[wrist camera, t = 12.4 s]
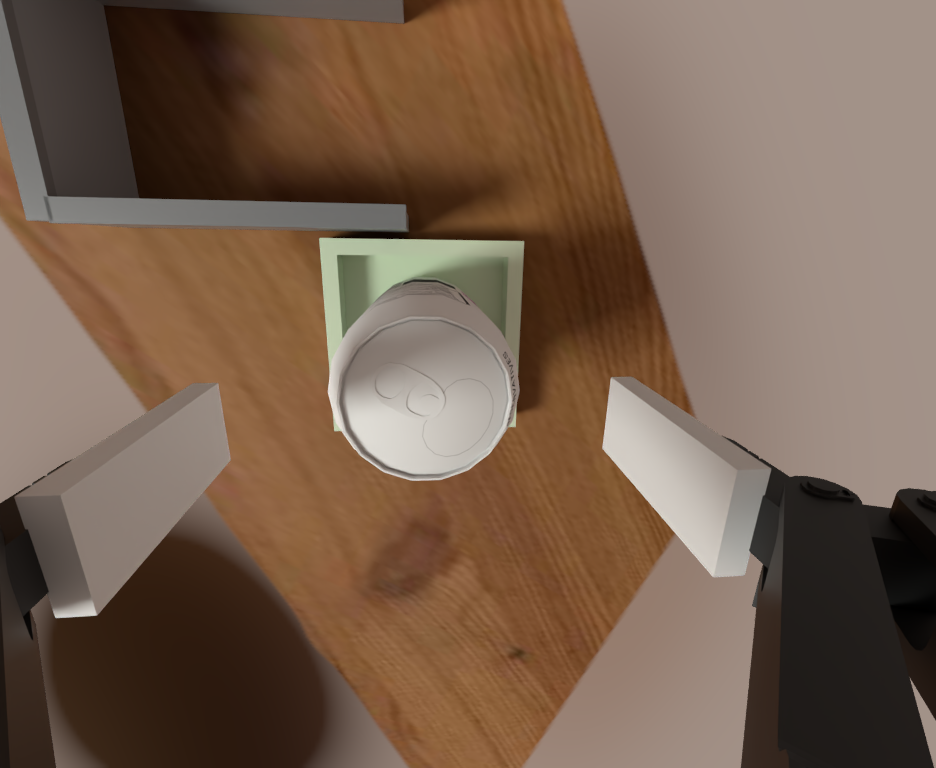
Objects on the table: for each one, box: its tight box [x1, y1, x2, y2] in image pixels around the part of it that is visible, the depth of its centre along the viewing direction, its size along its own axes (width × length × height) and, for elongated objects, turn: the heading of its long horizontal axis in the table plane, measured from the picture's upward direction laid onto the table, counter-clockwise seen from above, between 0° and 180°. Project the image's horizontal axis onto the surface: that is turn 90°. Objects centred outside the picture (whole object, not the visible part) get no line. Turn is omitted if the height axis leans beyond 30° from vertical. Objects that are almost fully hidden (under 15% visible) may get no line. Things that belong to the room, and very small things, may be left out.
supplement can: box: [328, 277, 520, 481], centre depth 25 cm, size 8×8×15 cm
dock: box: [0, 0, 409, 232], centre depth 24 cm, size 13×18×8 cm
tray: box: [319, 238, 524, 431], centre depth 32 cm, size 13×13×2 cm
